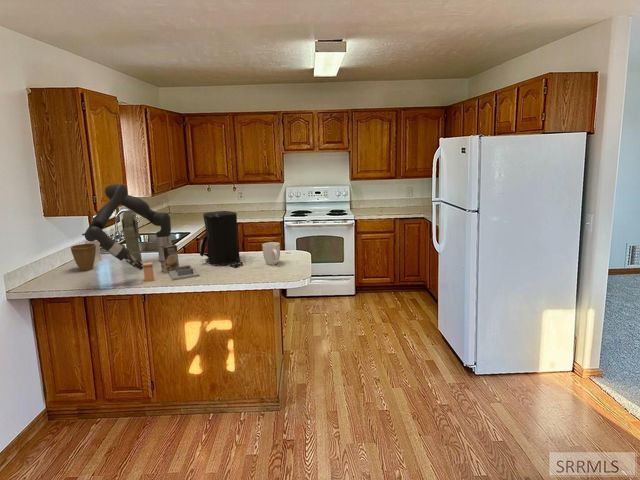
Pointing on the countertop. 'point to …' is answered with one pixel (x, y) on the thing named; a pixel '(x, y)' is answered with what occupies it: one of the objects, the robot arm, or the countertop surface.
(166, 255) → the coffee box
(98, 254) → the soap dispenser
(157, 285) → the countertop surface
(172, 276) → the end holder
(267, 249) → the mug
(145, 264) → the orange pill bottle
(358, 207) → the countertop surface
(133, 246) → the thermos
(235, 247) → the coffee maker
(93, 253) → the plant pot
